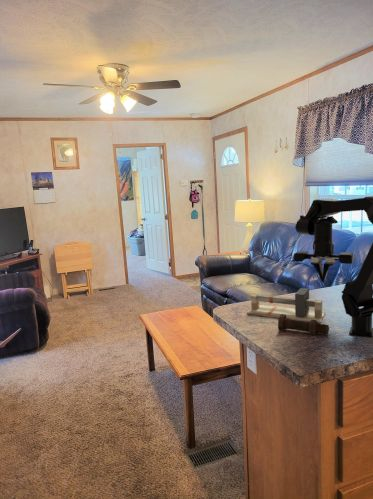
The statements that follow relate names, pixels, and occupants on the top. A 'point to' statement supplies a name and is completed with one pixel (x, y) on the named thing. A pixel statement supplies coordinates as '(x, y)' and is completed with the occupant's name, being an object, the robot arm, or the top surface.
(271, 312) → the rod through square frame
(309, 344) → the top surface
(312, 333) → the bolt
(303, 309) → the grey square collar
